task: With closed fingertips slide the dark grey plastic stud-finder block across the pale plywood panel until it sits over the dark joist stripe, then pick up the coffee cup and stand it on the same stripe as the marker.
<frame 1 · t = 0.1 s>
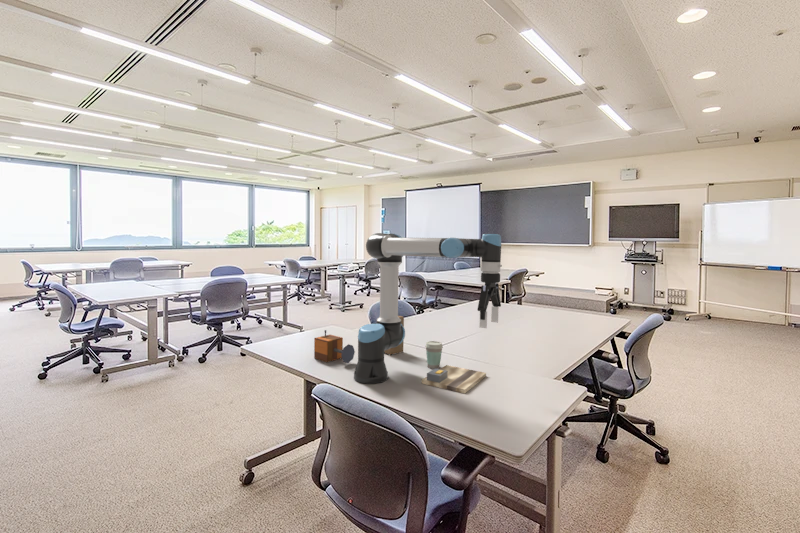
hand: (489, 324, 157), 28 cm above the table, fingers open, 13 cm apart
coffee cup: (433, 367, 190), on the table
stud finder: (437, 378, 169), point 2 cm above the table, touching plywood panel
clamp: (334, 360, 199), on the table
wooden block: (390, 352, 216), on the table
plywood panel: (454, 379, 173), on the table
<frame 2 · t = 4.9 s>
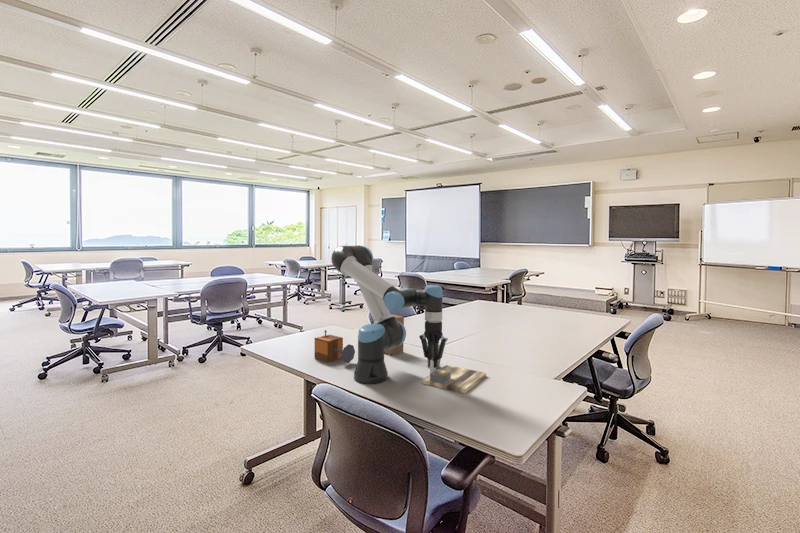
hand: (432, 374, 170), 3 cm above the table, fingers closed
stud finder: (440, 379, 168), point 2 cm above the table, touching gripper
everything else where it was.
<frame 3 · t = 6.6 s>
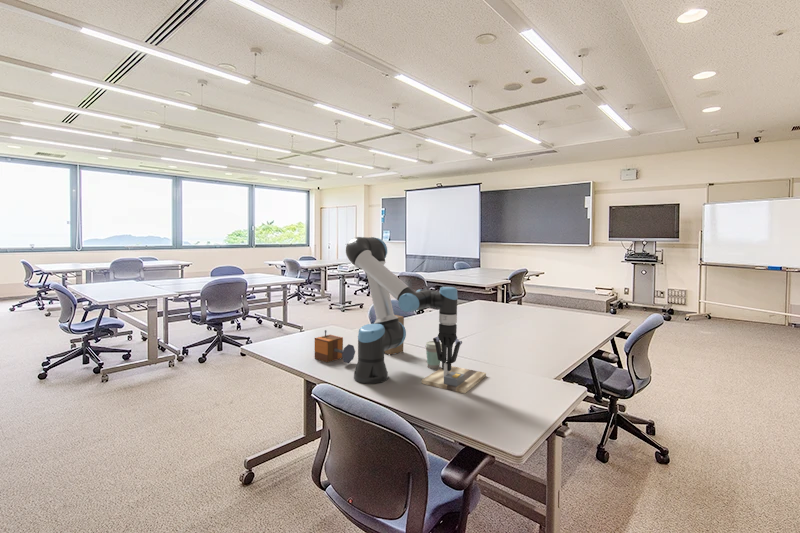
hand: (446, 377, 167), 3 cm above the table, fingers closed
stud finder: (454, 382, 165), point 2 cm above the table, touching gripper, plywood panel
everything else where it was.
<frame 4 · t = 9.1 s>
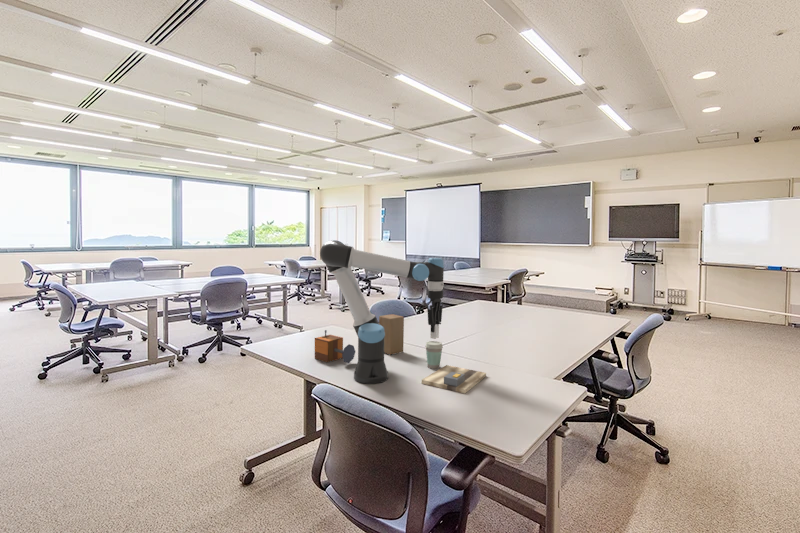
hand: (434, 337, 189), 15 cm above the table, fingers open, 2 cm apart
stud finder: (454, 382, 165), point 2 cm above the table, touching plywood panel
everything else where it was.
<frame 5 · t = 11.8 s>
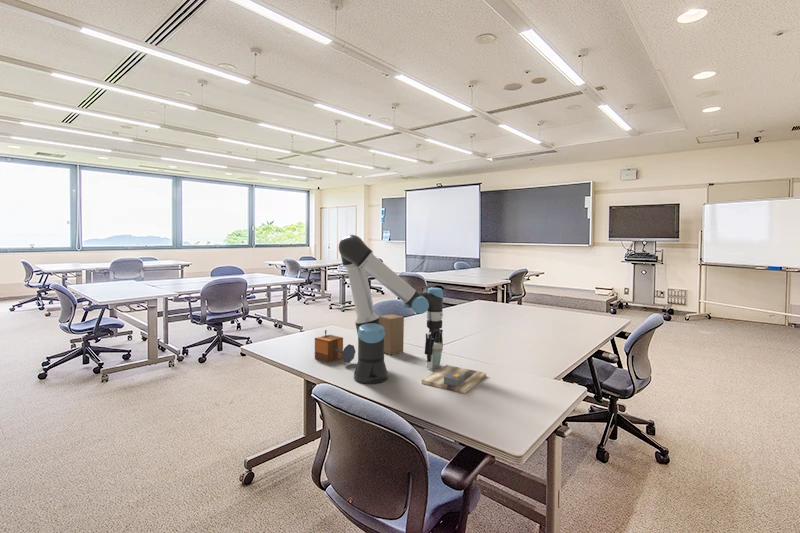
hand: (433, 365, 190), 1 cm above the table, fingers closed on coffee cup, 8 cm apart
coffee cup: (433, 367, 190), on the table, touching gripper
everything else where it was.
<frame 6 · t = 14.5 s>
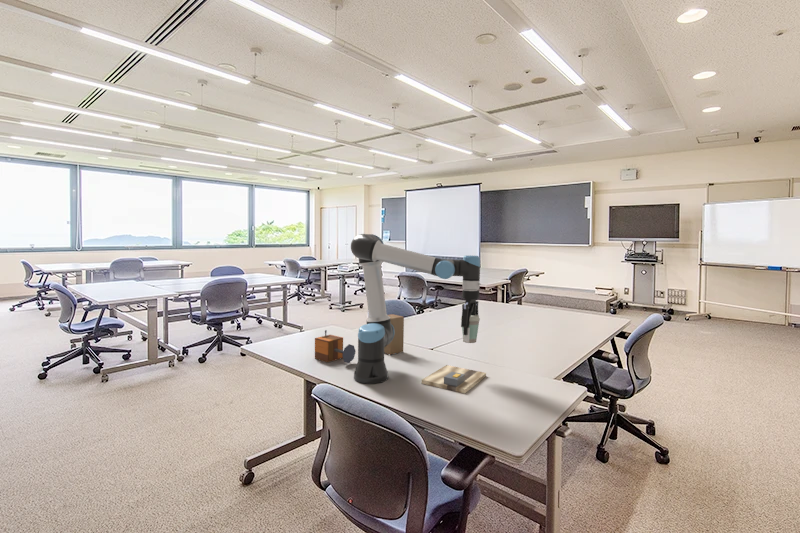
hand: (469, 340, 175), 17 cm above the table, fingers closed on coffee cup, 8 cm apart
coffee cup: (469, 341, 175), point 16 cm above the table, touching gripper
everything else where it was.
when the fingers open (4 cm above the table, at t = 17.3 s): coffee cup drops 2 cm, resting on plywood panel.
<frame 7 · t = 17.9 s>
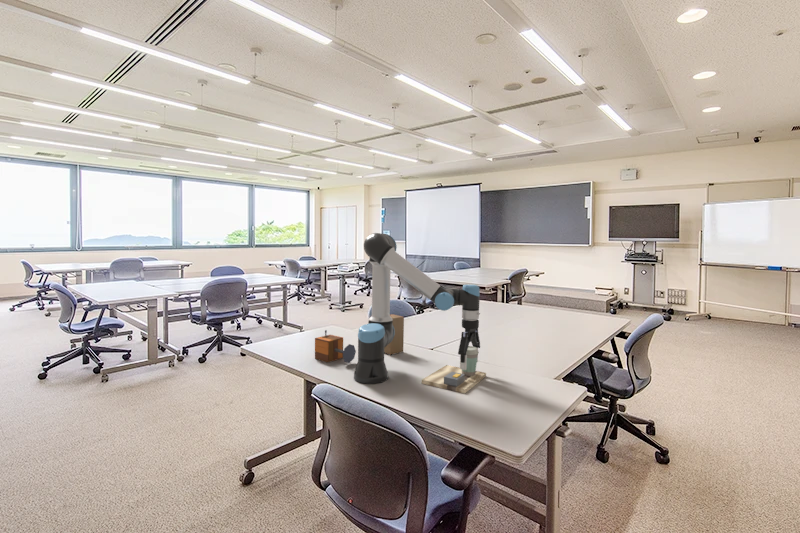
hand: (469, 365, 176), 6 cm above the table, fingers open, 13 cm apart
coffee cup: (468, 374, 176), point 1 cm above the table, touching plywood panel
everything else where it was.
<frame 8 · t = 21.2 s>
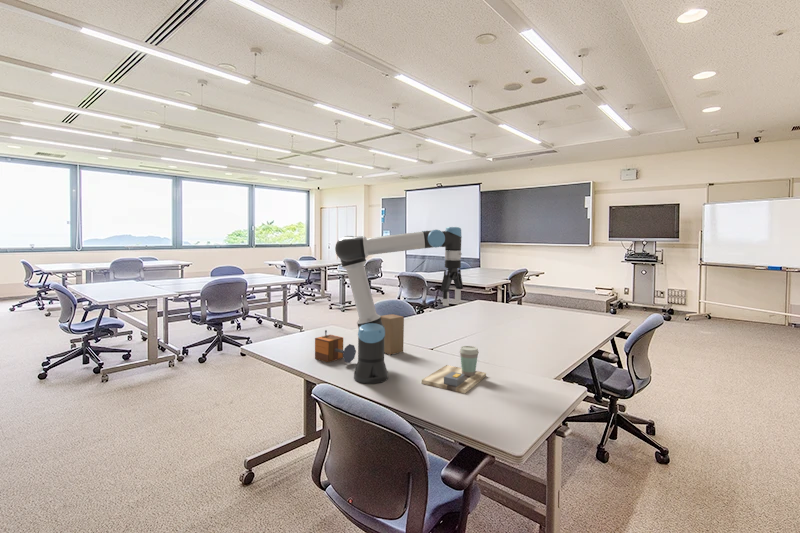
hand: (451, 304, 186), 32 cm above the table, fingers open, 13 cm apart
nothing on the table moved.
at the end: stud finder inside the target area (1.1 cm from its centre), point 1.6 cm above the table; coffee cup inside the target area (0.4 cm from its centre), point 1.4 cm above the table; coffee cup tilted 0° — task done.
